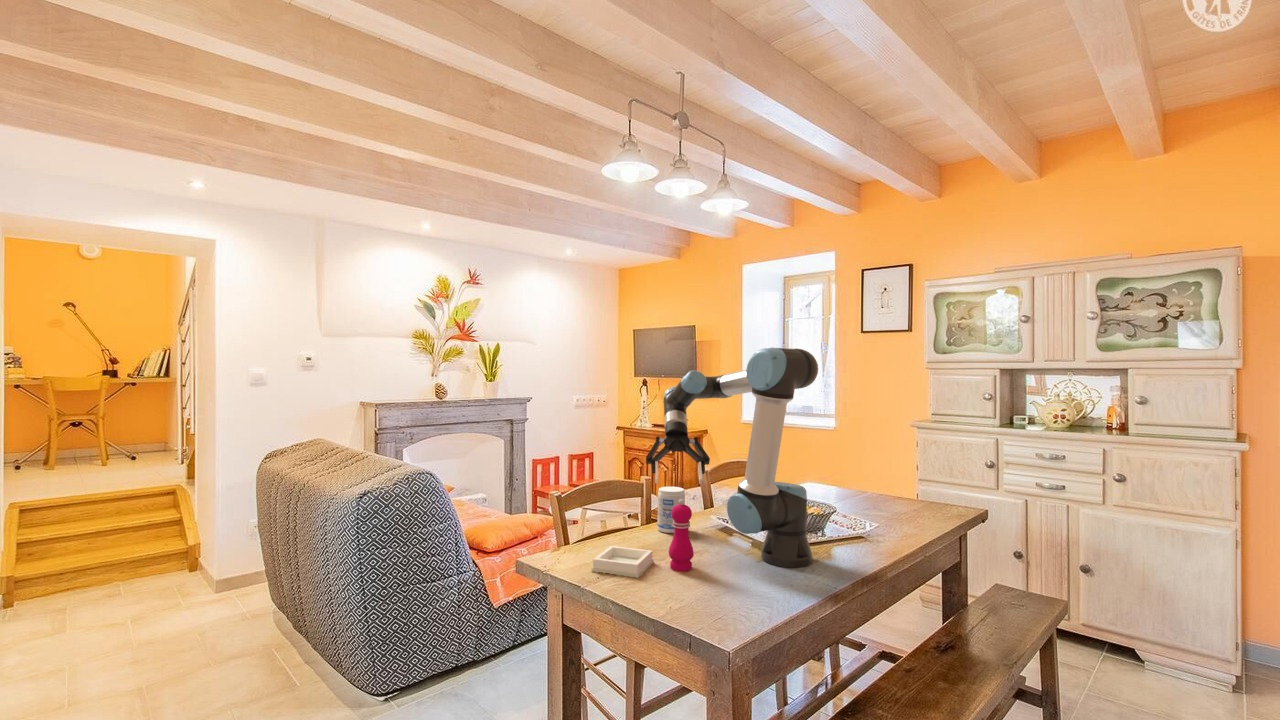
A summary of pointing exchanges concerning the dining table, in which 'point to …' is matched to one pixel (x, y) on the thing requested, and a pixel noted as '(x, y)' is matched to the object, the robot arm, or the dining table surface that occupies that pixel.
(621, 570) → the ceramic tray
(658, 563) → the dining table surface
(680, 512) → the pepper mill
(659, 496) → the supplement tub
